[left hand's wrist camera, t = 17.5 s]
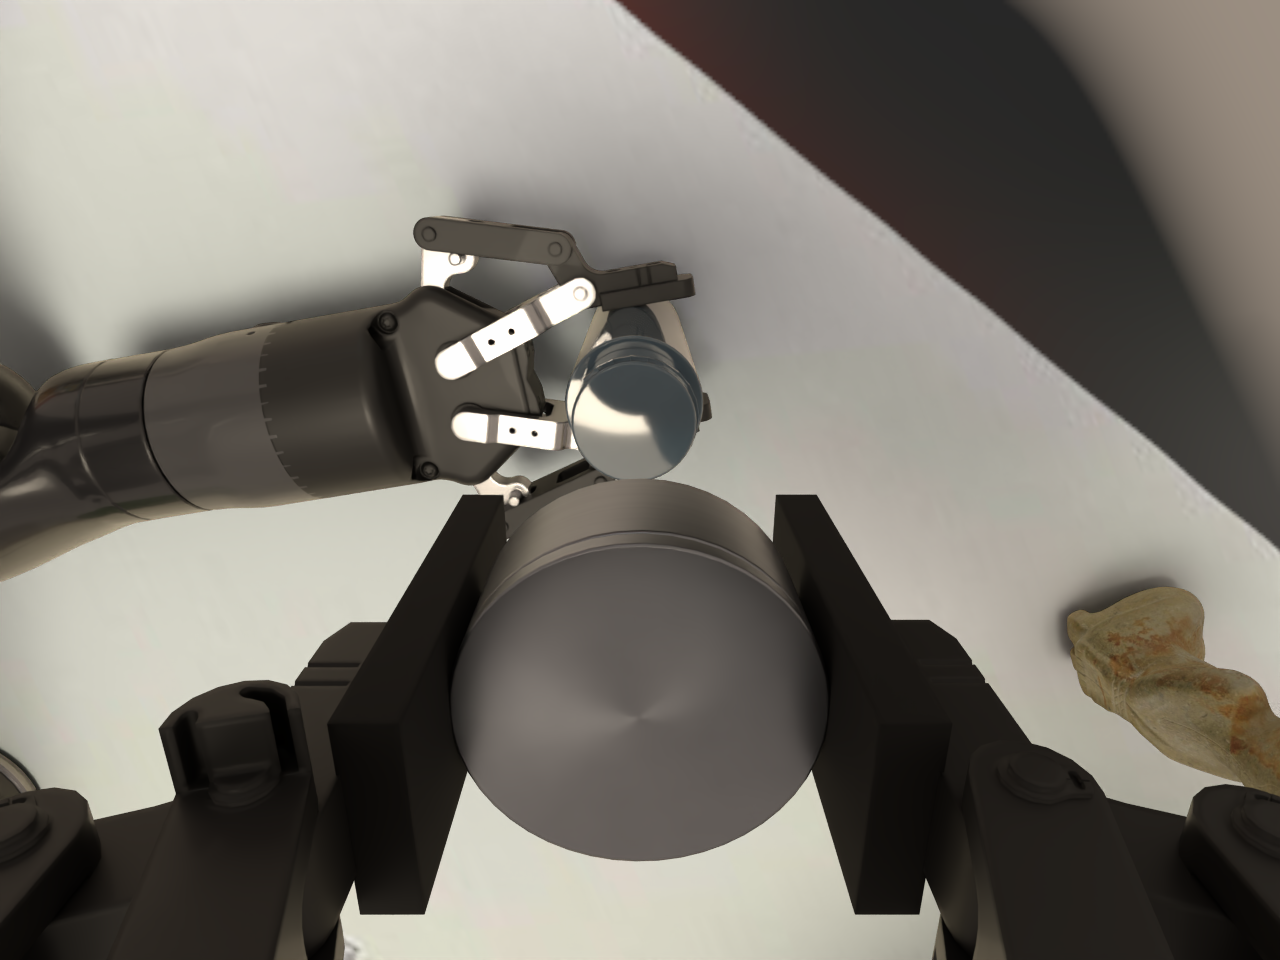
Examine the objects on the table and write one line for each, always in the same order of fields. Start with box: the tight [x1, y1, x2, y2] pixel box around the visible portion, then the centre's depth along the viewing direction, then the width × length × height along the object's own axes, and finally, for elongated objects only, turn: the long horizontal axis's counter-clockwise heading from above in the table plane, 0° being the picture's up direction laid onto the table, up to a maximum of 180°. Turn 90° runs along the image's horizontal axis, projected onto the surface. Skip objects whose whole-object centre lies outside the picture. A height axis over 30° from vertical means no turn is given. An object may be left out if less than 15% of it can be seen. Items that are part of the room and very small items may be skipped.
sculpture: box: [1067, 587, 1280, 796], centre depth 36 cm, size 6×7×15 cm
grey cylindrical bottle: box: [565, 301, 703, 480], centre depth 30 cm, size 4×4×16 cm
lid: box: [449, 479, 830, 861], centre depth 11 cm, size 5×5×2 cm
